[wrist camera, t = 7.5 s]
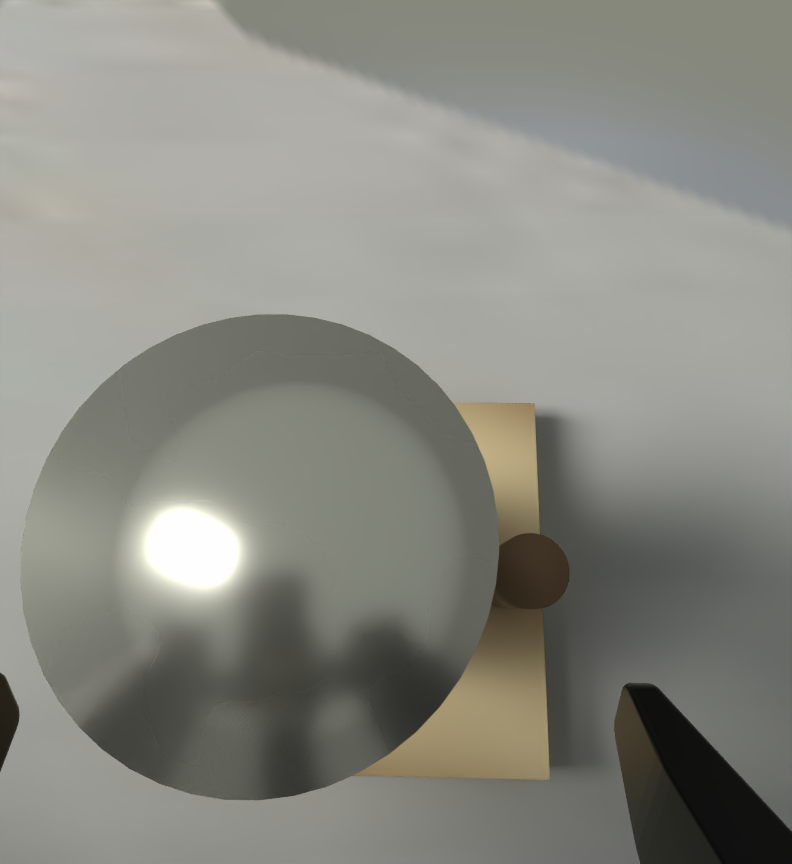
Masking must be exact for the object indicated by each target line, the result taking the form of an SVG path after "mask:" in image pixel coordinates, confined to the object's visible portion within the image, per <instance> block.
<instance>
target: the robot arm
mask: <svg viewBox="0 0 792 864" xmlns="http://www.w3.org/2000/svg"><path fill="white" fill-rule="evenodd" d="M18 722H19V707H18V705H17V702H16V700H15V698H14V695H13V693H12V691H11V688H10V686H9V684H8V682H7V679H6V677H5V676H4V675H3V674H1V673H0V771H1V768H2V766H3V763H4V761H5V758H6V755H7V753H8V750H9V747H10V745H11V742H12V739H13V737H14V734H15V732H16V729H17V726H18ZM614 732H615V739H616V745H617V750H618V755H619V761H620V766H621V771H622V776H623V782H624V787H625V792H626V798H627V803H628V808H629V814H630V819H631V824H632V830H633V834H634V839H635V844H636V849H637V853H638V856H639V860H640V864H792V831H791V830H790V829H789V828H788V827H787V826H786V825H785V824H784V823H783V822H782V821H781V819H780V818H779V817H778V816H777V815H776V814H775V813H774V812H773V811H772V810H771V809H770V808H769V807H768V805H767V804H766V803H765V802H764V801H763V800H762V799H761V798H760V797H759V796H758V795H757V794H756V793H755V791H754V790H753V789H752V788H751V787H750V786H749V785H748V784H747V783H746V782H745V781H744V780H743V779H742V778H741V776H740V775H739V774H738V773H737V772H736V771H735V770H734V769H733V768H732V767H731V766H730V765H729V764H728V762H727V761H726V760H725V759H724V758H723V757H722V756H721V755H720V754H719V753H718V752H717V751H716V750H715V748H714V747H713V746H712V745H711V744H710V743H709V742H708V741H707V740H706V739H705V738H704V737H703V736H702V734H701V733H700V732H699V731H698V730H697V729H696V728H695V727H694V726H693V725H692V724H691V723H690V722H689V721H688V719H687V718H686V717H685V716H684V715H683V714H682V713H681V712H680V711H679V710H678V709H677V708H676V707H675V705H674V704H673V703H672V702H671V701H670V700H669V699H668V698H667V697H666V696H665V695H664V694H663V693H662V691H661V690H660V689H659V688H658V687H656V686H655V685H653V684H648V683H628V684H626V685H625V686H624V687H623V689H622V692H621V696H620V700H619V704H618V709H617V713H616V717H615V722H614Z"/></svg>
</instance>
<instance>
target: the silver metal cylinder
mask: <svg viewBox="0 0 792 864" xmlns="http://www.w3.org/2000/svg"><path fill="white" fill-rule="evenodd" d="M498 559H499V531H498V516H497V510H496V504H495V498H494V491H493V487H492V484H491V480H490V477H489V474H488V470H487V467H486V464H485V461H484V458H483V456H482V454H481V451H480V449H479V447H478V445H477V443H476V440H475V438H474V436H473V434H472V432H471V430H470V429H469V427H468V425H467V424H466V422H465V420H464V419H463V417H462V416H461V414H460V412H459V411H458V409H457V408H456V406H455V405H454V404H453V403H452V401H451V400H450V399H449V398H448V396H447V395H446V394H445V393H444V392H443V390H442V389H441V388H440V387H439V386H438V384H437V383H435V382H434V381H433V380H432V379H431V378H430V377H429V376H428V375H427V374H426V373H425V372H424V371H423V370H422V369H421V368H420V367H418V366H417V365H416V364H415V363H413V362H412V361H411V360H409V359H408V358H406V357H405V356H404V355H402V354H401V353H399V352H398V351H397V350H395V349H394V348H392V347H390V346H388V345H387V344H385V343H383V342H381V341H379V340H377V339H375V338H374V337H372V336H370V335H368V334H365V333H363V332H360V331H357V330H355V329H352V328H350V327H347V326H344V325H342V324H338V323H333V322H329V321H325V320H321V319H317V318H311V317H303V316H295V315H252V316H243V317H235V318H229V319H225V320H221V321H216V322H212V323H208V324H204V325H201V326H198V327H196V328H193V329H190V330H187V331H185V332H182V333H179V334H177V335H174V336H172V337H170V338H168V339H167V340H165V341H163V342H161V343H159V344H157V345H155V346H153V347H151V348H149V349H147V350H146V351H144V352H143V353H141V354H140V355H138V356H137V357H135V358H134V359H132V360H131V361H129V362H128V363H127V364H125V365H124V366H122V367H121V368H120V369H119V370H118V371H117V372H115V373H114V374H113V375H112V376H111V377H110V378H108V379H107V380H106V381H105V382H104V383H102V384H101V385H100V386H99V387H98V388H97V390H96V391H95V392H94V393H93V394H92V395H91V396H90V397H89V398H88V399H87V400H86V401H85V402H84V404H83V405H82V406H81V407H80V408H79V409H78V411H77V412H76V413H75V415H74V416H73V418H72V419H71V420H70V422H69V423H68V424H67V426H66V427H65V428H64V430H63V431H62V433H61V435H60V436H59V438H58V440H57V442H56V443H55V445H54V447H53V449H52V450H51V452H50V454H49V456H48V457H47V459H46V462H45V464H44V466H43V469H42V471H41V474H40V476H39V478H38V481H37V483H36V485H35V488H34V492H33V495H32V499H31V502H30V506H29V509H28V513H27V516H26V522H25V528H24V535H23V541H22V547H21V579H20V580H21V590H22V600H23V610H24V615H25V619H26V623H27V627H28V632H29V636H30V640H31V644H32V646H33V649H34V651H35V654H36V656H37V659H38V661H39V664H40V667H41V669H42V672H43V674H44V676H45V677H46V679H47V681H48V683H49V684H50V686H51V688H52V690H53V691H54V693H55V695H56V697H57V699H58V700H59V702H60V703H61V704H62V706H63V707H64V708H65V710H66V711H67V712H68V713H69V715H70V716H71V717H72V719H73V720H74V721H75V722H76V724H77V725H78V726H79V727H80V728H81V729H82V730H83V731H84V732H85V733H86V734H87V735H88V736H89V737H90V738H91V739H92V740H93V741H94V742H95V743H96V744H97V745H98V746H99V747H100V748H102V749H103V750H104V751H105V752H107V753H108V754H110V755H111V756H112V757H114V758H115V759H117V760H118V761H120V762H121V763H122V764H124V765H125V766H127V767H128V768H129V769H131V770H133V771H135V772H137V773H139V774H141V775H143V776H145V777H147V778H149V779H151V780H153V781H155V782H157V783H159V784H162V785H165V786H169V787H172V788H175V789H178V790H181V791H184V792H187V793H190V794H195V795H201V796H207V797H213V798H219V799H225V800H264V799H272V798H280V797H288V796H295V795H298V794H302V793H305V792H309V791H313V790H316V789H320V788H323V787H327V786H329V785H332V784H334V783H336V782H339V781H341V780H343V779H345V778H348V777H350V776H352V775H355V774H357V773H359V772H361V771H363V770H364V769H366V768H367V767H369V766H371V765H372V764H374V763H376V762H377V761H379V760H380V759H382V758H384V757H385V756H387V755H389V754H390V753H391V752H393V751H394V750H395V749H396V748H397V747H399V746H400V745H401V744H402V743H404V742H405V741H406V740H407V739H408V738H410V737H411V736H412V735H413V734H415V733H416V732H417V731H418V730H419V729H420V728H421V727H422V726H423V724H424V723H425V722H426V721H427V720H428V719H429V718H430V717H431V716H432V715H433V714H434V713H435V712H436V711H437V710H438V708H439V707H440V706H441V705H442V703H443V702H444V701H445V699H446V698H447V696H448V695H449V694H450V692H451V691H452V689H453V688H454V687H455V685H456V684H457V682H458V681H459V680H460V678H461V676H462V675H463V673H464V671H465V669H466V667H467V665H468V663H469V661H470V660H471V658H472V656H473V654H474V652H475V650H476V648H477V646H478V643H479V640H480V638H481V635H482V632H483V630H484V627H485V624H486V622H487V619H488V616H489V612H490V608H491V603H492V599H493V595H494V590H495V586H496V579H497V569H498Z"/></svg>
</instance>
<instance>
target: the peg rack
mask: <svg viewBox="0 0 792 864" xmlns="http://www.w3.org/2000/svg"><path fill="white" fill-rule="evenodd" d="M453 404H454V405H455V406H456V408H457V409H458V411H459V412H460V414H461V416H462V417H463V419H464V420H465V422H466V424H467V425H468V427H469V429H470V430H471V432H472V434H473V436H474V438H475V440H476V443H477V445H478V447H479V449H480V451H481V454H482V456H483V458H484V461H485V464H486V467H487V470H488V474H489V477H490V480H491V484H492V487H493V491H494V498H495V504H496V510H497V516H498V531H499V559H498V569H497V579H496V586H495V590H494V595H493V599H492V603H491V608H490V612H489V616H488V619H487V622H486V624H485V627H484V630H483V632H482V635H481V638H480V640H479V643H478V646H477V648H476V650H475V652H474V654H473V656H472V658H471V660H470V661H469V663H468V665H467V667H466V669H465V671H464V673H463V675H462V676H461V678H460V680H459V681H458V682H457V684H456V685H455V687H454V688H453V689H452V691H451V692H450V694H449V695H448V696H447V698H446V699H445V701H444V702H443V703H442V705H441V706H440V707H439V708H438V710H437V711H436V712H435V713H434V714H433V715H432V716H431V717H430V718H429V719H428V720H427V721H426V722H425V723H424V724H423V726H422V727H421V728H420V729H419V730H418V731H417V732H416V733H415V734H413V735H412V736H411V737H410V738H408V739H407V740H406V741H405V742H404V743H402V744H401V745H400V746H399V747H397V748H396V749H395V750H394V751H393V752H391V753H390V754H389V755H387V756H385V757H384V758H382V759H380V760H379V761H377V762H376V763H374V764H372V765H371V766H369V767H367V768H366V769H364V770H363V771H361V772H359V773H357V774H355V775H352V776H391V777H438V778H485V779H532V780H550V770H549V746H548V722H547V697H546V673H545V648H544V624H543V608H545V607H548V606H550V605H552V604H553V603H555V602H556V601H557V600H558V599H559V598H560V597H561V596H562V595H563V593H564V592H565V590H566V587H567V585H568V581H569V565H568V561H567V559H566V556H565V554H564V552H563V551H562V550H561V548H560V547H559V546H558V545H557V544H556V543H555V542H554V541H552V540H551V539H549V538H548V537H545V536H543V535H540V526H539V502H538V477H537V453H536V428H535V404H534V403H453Z"/></svg>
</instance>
